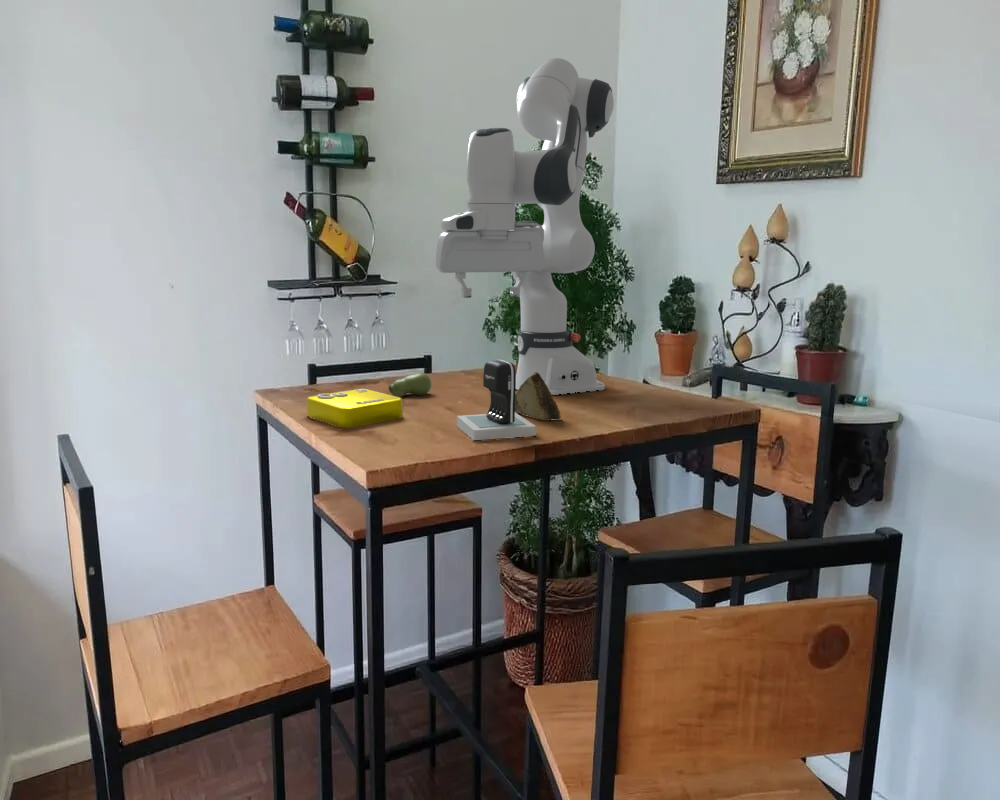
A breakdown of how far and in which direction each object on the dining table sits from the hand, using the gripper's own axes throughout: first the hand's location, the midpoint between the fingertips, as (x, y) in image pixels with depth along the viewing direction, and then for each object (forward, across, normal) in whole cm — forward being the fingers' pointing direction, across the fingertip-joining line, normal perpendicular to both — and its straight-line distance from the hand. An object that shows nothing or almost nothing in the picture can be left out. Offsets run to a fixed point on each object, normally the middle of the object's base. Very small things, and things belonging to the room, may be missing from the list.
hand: (490, 297), depth 145 cm
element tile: (+26, +24, -17) cm, 39 cm away
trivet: (+25, 0, +2) cm, 25 cm away
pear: (+26, +8, -36) cm, 45 cm away
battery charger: (+23, 0, +3) cm, 23 cm away
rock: (+26, -12, -8) cm, 29 cm away
